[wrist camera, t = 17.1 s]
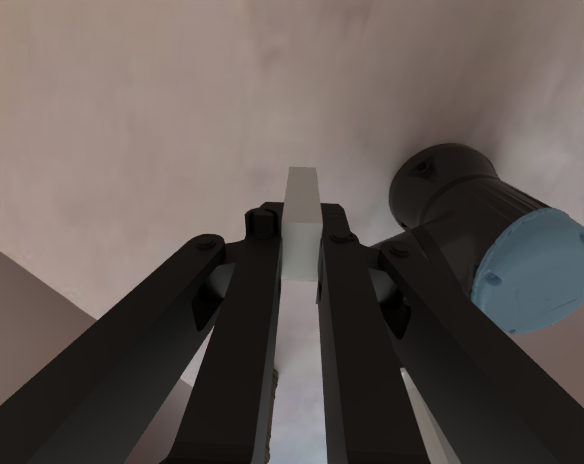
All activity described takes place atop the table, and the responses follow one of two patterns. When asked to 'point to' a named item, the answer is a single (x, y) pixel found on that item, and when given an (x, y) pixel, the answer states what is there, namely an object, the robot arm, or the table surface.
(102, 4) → the table surface
